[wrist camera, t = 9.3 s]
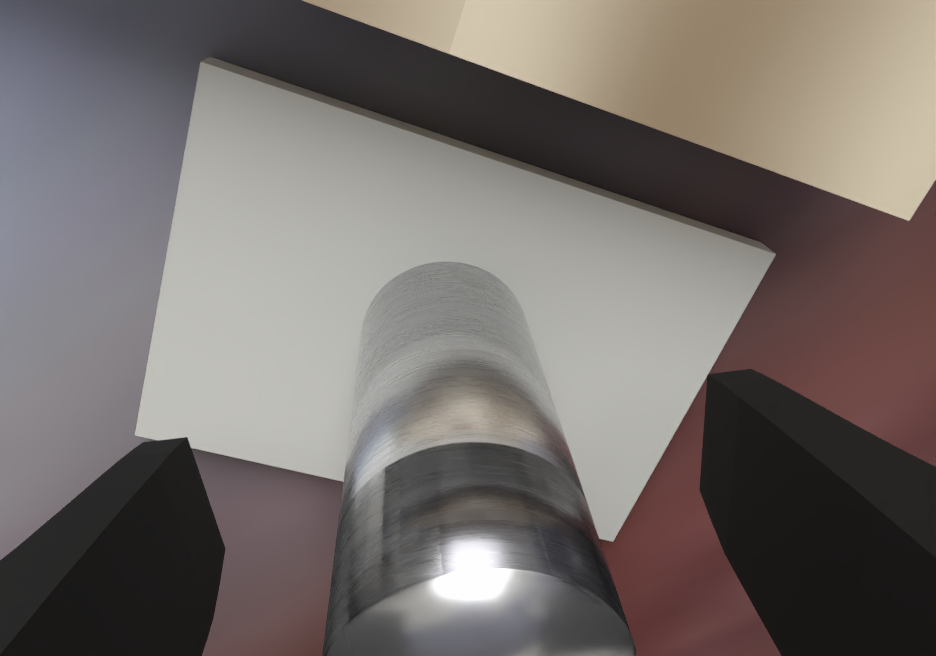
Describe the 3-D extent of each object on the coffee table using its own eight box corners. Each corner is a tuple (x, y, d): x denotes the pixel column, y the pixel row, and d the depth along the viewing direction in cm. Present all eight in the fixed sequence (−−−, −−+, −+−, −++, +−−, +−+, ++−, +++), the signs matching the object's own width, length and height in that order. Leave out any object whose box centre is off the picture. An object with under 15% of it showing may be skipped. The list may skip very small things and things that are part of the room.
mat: (761, 242, 13) (775, 254, 13) (606, 522, 16) (612, 541, 16) (210, 56, 11) (200, 62, 11) (145, 417, 14) (134, 435, 13)
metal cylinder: (508, 243, 12) (614, 534, 6) (540, 386, 14) (652, 744, 7) (339, 284, 12) (271, 614, 6) (387, 423, 14) (372, 806, 8)
